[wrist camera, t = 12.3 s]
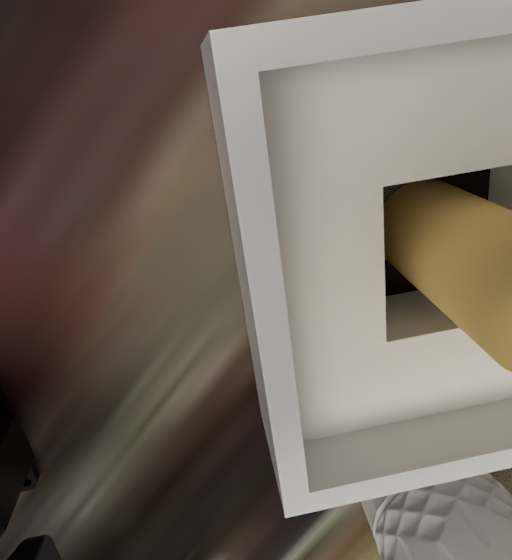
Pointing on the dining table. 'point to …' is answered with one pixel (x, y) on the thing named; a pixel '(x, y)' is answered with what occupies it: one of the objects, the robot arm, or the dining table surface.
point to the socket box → (360, 238)
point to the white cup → (444, 521)
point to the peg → (456, 258)
